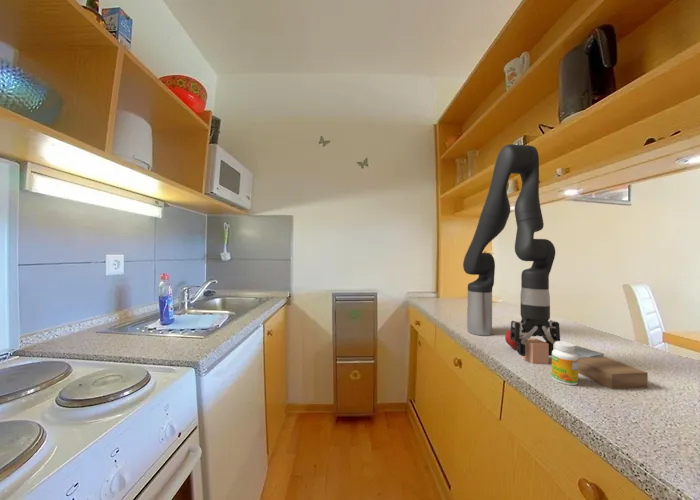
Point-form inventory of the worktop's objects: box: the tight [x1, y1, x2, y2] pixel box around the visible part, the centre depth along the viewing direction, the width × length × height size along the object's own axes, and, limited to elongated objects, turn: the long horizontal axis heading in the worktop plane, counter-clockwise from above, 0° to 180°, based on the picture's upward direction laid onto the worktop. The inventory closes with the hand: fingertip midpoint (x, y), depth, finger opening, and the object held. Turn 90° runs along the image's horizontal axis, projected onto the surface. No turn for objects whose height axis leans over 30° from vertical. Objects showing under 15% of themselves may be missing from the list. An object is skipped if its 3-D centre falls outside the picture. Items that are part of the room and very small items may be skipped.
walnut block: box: [578, 356, 649, 390], centre depth 70 cm, size 10×10×4 cm
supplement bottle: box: [551, 340, 579, 386], centre depth 69 cm, size 5×5×10 cm
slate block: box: [573, 345, 605, 358], centre depth 80 cm, size 7×7×4 cm
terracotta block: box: [520, 337, 550, 365], centre depth 82 cm, size 5×5×6 cm
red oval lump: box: [504, 328, 517, 351], centre depth 91 cm, size 6×6×8 cm
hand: (535, 355), depth 81 cm, fingers open, 8 cm apart
